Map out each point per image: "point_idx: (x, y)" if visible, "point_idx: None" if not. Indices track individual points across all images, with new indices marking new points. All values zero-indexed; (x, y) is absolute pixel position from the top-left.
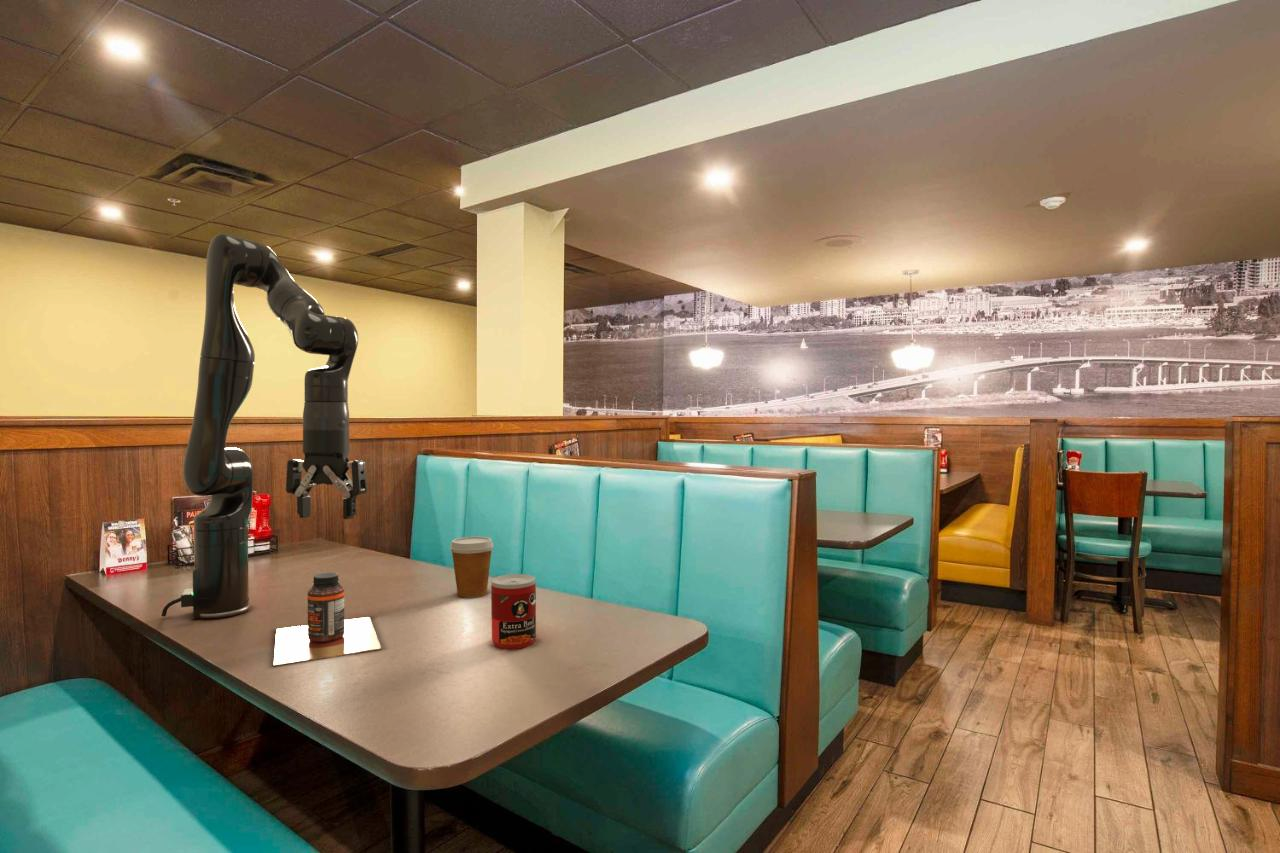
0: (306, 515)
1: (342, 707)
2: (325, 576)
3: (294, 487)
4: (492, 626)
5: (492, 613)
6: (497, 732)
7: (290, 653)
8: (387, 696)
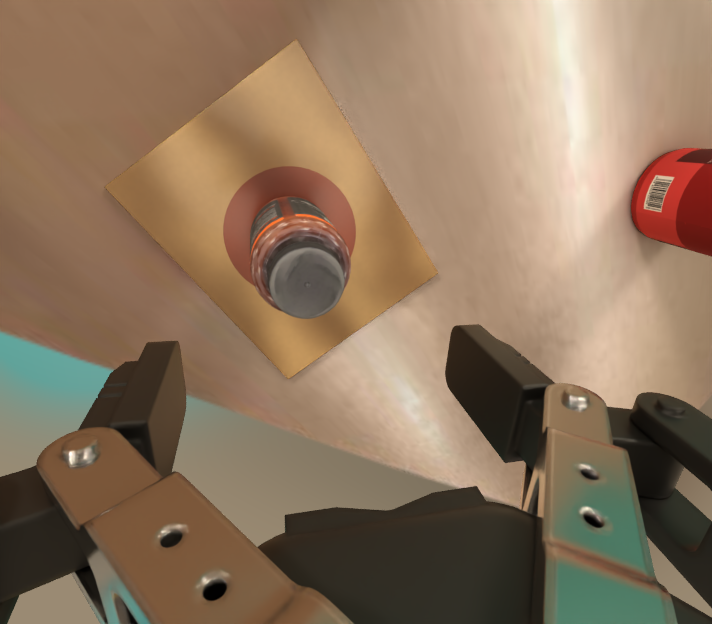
0: (182, 380)
1: (471, 458)
2: (319, 303)
3: (7, 599)
4: (660, 227)
5: (685, 236)
6: None
7: (277, 328)
8: None
